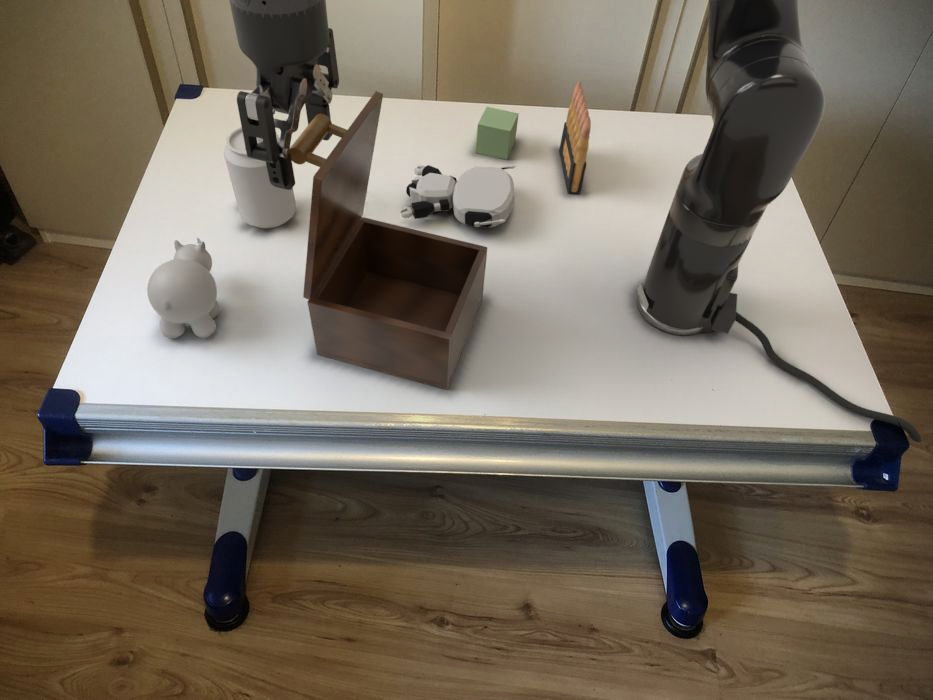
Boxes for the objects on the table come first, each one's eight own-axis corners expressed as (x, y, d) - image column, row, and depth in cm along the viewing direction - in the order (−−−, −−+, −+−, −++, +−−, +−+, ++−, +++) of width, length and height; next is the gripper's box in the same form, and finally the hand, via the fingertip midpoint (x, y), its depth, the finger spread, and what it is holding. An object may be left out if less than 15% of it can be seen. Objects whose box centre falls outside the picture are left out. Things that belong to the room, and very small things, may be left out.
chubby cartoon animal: (240, 272, 86) (225, 219, 80) (217, 345, 78) (198, 294, 72) (182, 269, 86) (162, 216, 79) (153, 343, 78) (129, 290, 72)
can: (255, 239, 90) (236, 162, 81) (231, 208, 94) (210, 131, 84) (306, 219, 93) (294, 143, 84) (281, 190, 97) (266, 113, 87)
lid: (383, 93, 67) (335, 74, 67) (321, 180, 58) (266, 157, 58) (363, 214, 80) (322, 198, 80) (310, 300, 71) (264, 282, 71)
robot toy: (398, 234, 93) (508, 244, 91) (395, 208, 90) (509, 217, 88) (416, 179, 101) (518, 187, 99) (414, 153, 97) (519, 161, 96)
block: (515, 141, 107) (518, 113, 103) (507, 160, 104) (510, 131, 100) (484, 135, 108) (486, 106, 104) (475, 153, 105) (477, 124, 101)
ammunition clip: (580, 194, 100) (596, 120, 90) (567, 194, 99) (582, 120, 90) (570, 150, 106) (585, 77, 97) (558, 150, 106) (572, 77, 97)
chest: (482, 299, 85) (487, 246, 78) (446, 390, 76) (449, 339, 69) (364, 270, 87) (360, 216, 81) (316, 354, 78) (307, 302, 72)
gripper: (279, 38, 50) (307, 213, 62) (354, -38, 58) (366, 129, 71) (185, 19, 51) (232, 195, 63) (274, -53, 59) (299, 114, 72)
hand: (303, 160), depth 67 cm, fingers open, 8 cm apart
